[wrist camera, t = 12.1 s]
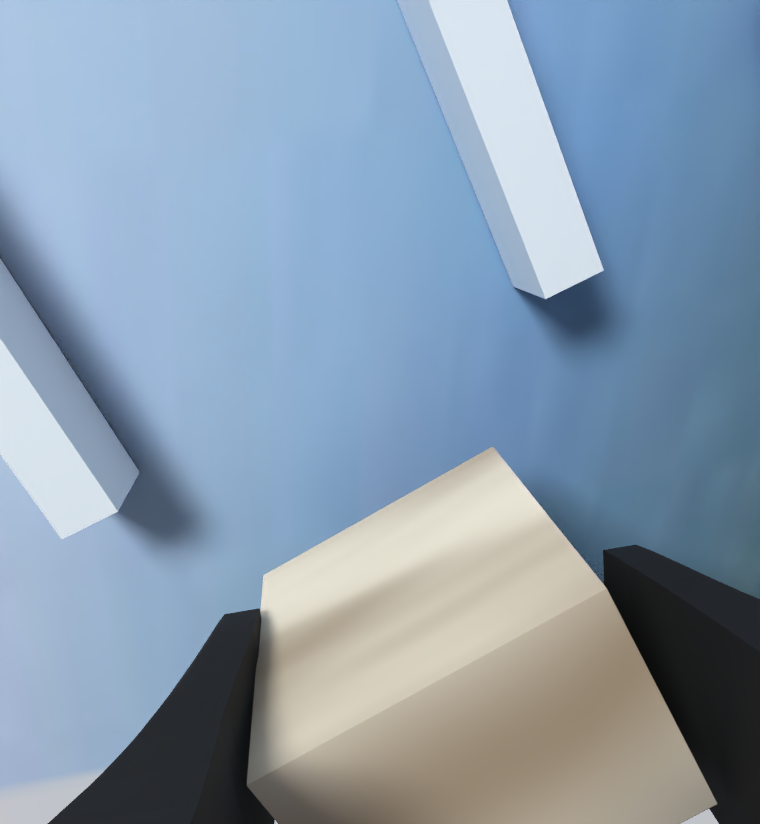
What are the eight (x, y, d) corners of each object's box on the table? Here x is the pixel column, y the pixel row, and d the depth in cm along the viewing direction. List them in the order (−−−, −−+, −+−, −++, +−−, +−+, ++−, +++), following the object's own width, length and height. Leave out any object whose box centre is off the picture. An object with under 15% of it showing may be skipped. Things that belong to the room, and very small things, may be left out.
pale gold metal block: (576, 602, 14) (717, 804, 10) (365, 717, 14) (400, 970, 10) (492, 446, 13) (606, 588, 8) (263, 575, 13) (246, 785, 8)
